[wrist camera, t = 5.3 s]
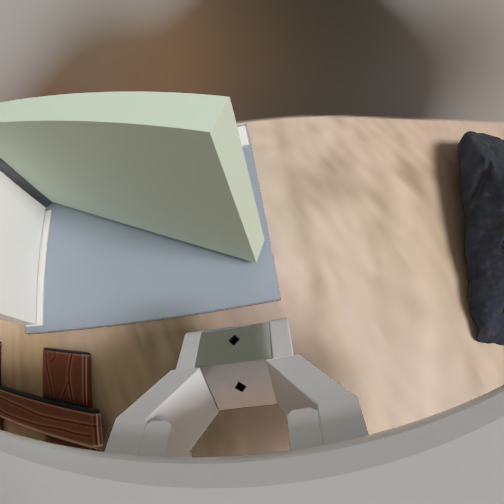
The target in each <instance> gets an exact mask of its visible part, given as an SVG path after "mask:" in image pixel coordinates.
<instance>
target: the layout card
mask: <svg viewBox="0 0 504 504" xmlns="http://www.w3.org/2000/svg"><path fill="white" fill-rule="evenodd" d="M237 128H238V132H239V136H240V140H241V145H242V149H243V153H244V157H245V161H246V165H247V169H248V173H249V177H250V181H251V185H252V189H253V194H254V198H255V202H256V206H257V210H258V214H259V219H260V223H261V227H262V231H263V235H264V243H263V246H262V249H261V251H260V254H259V257H258V260H257V263H256V262H252V261H249V260H245V259H242V258H238V257H235V256H232V255H228V254H225V253H221V252H218V251H214V250H211V249H208V248H204V247H201V246H198V245H194V244H191V243H187V242H184V241H181V240H177V239H174V238H170V237H167V236H164V235H160V234H157V233H154V232H150V231H147V230H144V229H140V228H137V227H134V226H130V225H127V224H124V223H120V222H117V221H114V220H110V219H107V218H104V217H100V216H97V215H94V214H91V213H87V212H84V211H81V210H77V209H74V208H71V207H68V206H64V205H61V204H58V203H55V202H52V203H51V204H50V205H49V206H48V207H46V208H45V214H44V221H43V228H42V235H41V243H40V252H39V262H38V274H37V290H36V324H32V325H25V333H26V334H39V333H51V332H62V331H72V330H82V329H91V328H100V327H109V326H117V325H125V324H133V323H141V322H149V321H156V320H163V319H170V318H177V317H184V316H190V315H197V314H203V313H210V312H216V311H222V310H228V309H234V308H240V307H246V306H251V305H257V304H263V303H268V302H274V301H279V300H281V298H280V292H279V287H278V282H277V276H276V271H275V265H274V260H273V255H272V250H271V244H270V239H269V234H268V229H267V223H266V218H265V213H264V208H263V203H262V198H261V193H260V188H259V183H258V178H257V173H256V168H255V163H254V158H253V153H252V148H251V143H250V139H249V134H248V129H247V124H244V125H240V126H237Z"/></svg>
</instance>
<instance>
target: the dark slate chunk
mask: <svg viewBox="0 0 504 504" xmlns="http://www.w3.org/2000/svg"><path fill="white" fill-rule="evenodd" d="M458 157H459V162H460V168H461V179H462V187H461V195H462V196H463V206H464V210H465V217H466V218H467V221H466V236H465V255H466V260H467V264H468V266H467V273H468V279H469V286H468V301H469V303H470V306H471V316H472V318H473V320H474V322H475V324H476V325H477V328H478V335H477V338H476V340H477V341H479V342H483V343H496V344H499V345H504V140H501V139H500V138H498V137H494V136H491V135H487V134H483V133H475V132H471V131H470V132H467V133H465V134H464V135H463V137H462V139H461V141H460V143H459V146H458Z"/></svg>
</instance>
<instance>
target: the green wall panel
mask: <svg viewBox="0 0 504 504" xmlns="http://www.w3.org/2000/svg"><path fill="white" fill-rule="evenodd" d="M0 158H1V159H2V160H4V161H5V162H6V163H7V164H8V165H9V166H10V167H11V168H13V169H14V170H15V171H16V172H17V173H18V174H19V175H21V176H22V177H23V178H24V179H25V180H26V181H28V182H29V183H30V184H31V185H32V186H33V187H35V188H36V189H37V190H38V191H39V192H41V193H42V194H43V195H44V196H45V197H47V198H48V199H49V200H50V201H52V202H55V203H58V204H61V205H64V206H68V207H71V208H74V209H77V210H81V211H84V212H87V213H91V214H94V215H97V216H100V217H104V218H107V219H110V220H114V221H117V222H120V223H124V224H127V225H130V226H134V227H137V228H140V229H144V230H147V231H150V232H154V233H157V234H160V235H164V236H167V237H170V238H174V239H177V240H181V241H184V242H187V243H191V244H194V245H198V246H201V247H204V248H208V249H211V250H214V251H218V252H221V253H225V254H228V255H232V256H235V257H238V258H242V259H245V260H249V261H252V262H256V263H257V260H258V257H259V254H260V251H261V249H262V246H263V243H264V235H263V231H262V227H261V223H260V219H259V214H258V210H257V206H256V202H255V198H254V194H253V189H252V185H251V181H250V177H249V173H248V169H247V165H246V161H245V157H244V153H243V149H242V145H241V140H240V136H239V132H238V128H237V124H236V120H235V117H234V112H233V109H232V105H231V101H230V97H225V96H215V95H204V94H190V93H172V92H94V93H76V94H63V95H52V96H43V97H35V98H26V99H19V100H13V101H7V102H1V103H0Z"/></svg>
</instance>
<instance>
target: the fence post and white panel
mask: <svg viewBox="0 0 504 504" xmlns="http://www.w3.org/2000/svg"><path fill="white" fill-rule="evenodd" d="M51 203H52V201H50V200H49V199H48V198H47V197H45V196H44V195H43V194H42V193H41V192H39V191H38V190H37V189H36V188H35V187H33V186H32V185H31V184H30V183H29V182H28V181H26V180H25V179H24V178H23V177H22V176H21V175H19V174H18V173H17V172H16V171H15V170H14V169H13V168H11V167H10V166H9V165H8V164H7V163H6V162H5V161H4V160H2V159H1V158H0V319H3V320H7V321H10V322H13V323H17V324H20V325H32V324H36V290H37V274H38V262H39V252H40V243H41V235H42V228H43V221H44V214H45V208H46V207H48V206H49V205H50V204H51Z"/></svg>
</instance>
